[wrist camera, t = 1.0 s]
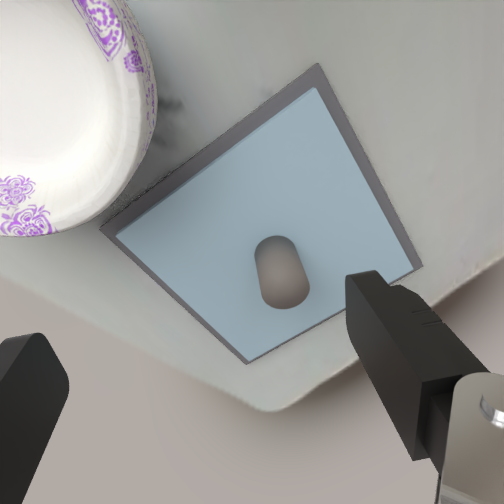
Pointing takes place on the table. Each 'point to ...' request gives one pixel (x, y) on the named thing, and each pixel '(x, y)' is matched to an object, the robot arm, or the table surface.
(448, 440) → the robot arm
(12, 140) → the paper bowls
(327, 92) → the mat
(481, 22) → the table surface
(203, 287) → the sheet
